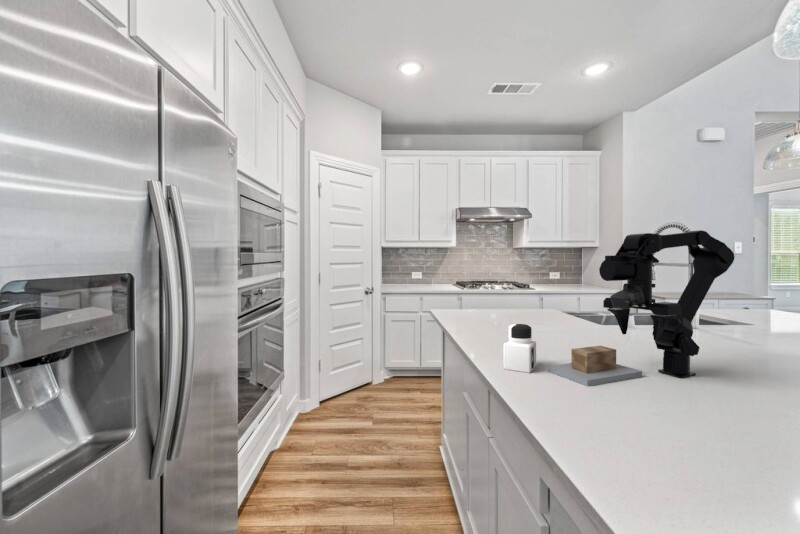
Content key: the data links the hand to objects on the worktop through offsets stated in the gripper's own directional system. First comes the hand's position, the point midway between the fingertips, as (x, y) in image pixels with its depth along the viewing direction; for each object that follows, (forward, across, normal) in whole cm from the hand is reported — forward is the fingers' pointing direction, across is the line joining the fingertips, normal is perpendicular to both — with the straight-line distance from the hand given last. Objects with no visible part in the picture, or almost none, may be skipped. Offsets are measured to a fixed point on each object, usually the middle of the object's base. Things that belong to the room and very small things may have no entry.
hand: (639, 337), depth 106 cm
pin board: (+11, -7, -9) cm, 16 cm away
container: (+11, -20, -24) cm, 33 cm away
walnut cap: (+9, -7, -9) cm, 15 cm away
